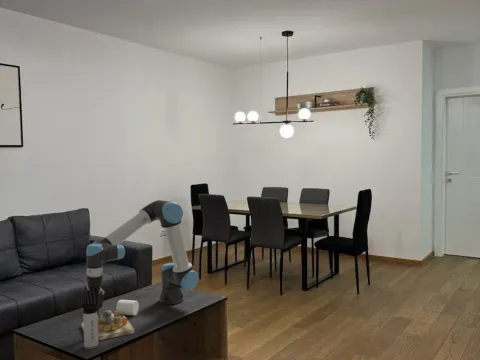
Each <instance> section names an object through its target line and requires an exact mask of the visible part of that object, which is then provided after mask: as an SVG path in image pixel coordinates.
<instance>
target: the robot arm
mask: <svg viewBox="0 0 480 360" xmlns="http://www.w3.org/2000/svg"><path fill="white" fill-rule="evenodd" d="M183 216H184V211H183V207H182V206H181V205H180V204H179V203H177V202H176V201H172V200H169V201H168V200H161V199H159V200H155V201H152V202H150V203H149V204H147V205H146V206H144V207H142V208H141V209H140V210H139V211H138V213H137V214H135V216H133V217H131V218H130V219H129V220H127V221H126V222H125V223H123V224H122V225H121V226H119V227H118V228H116V229H115V230H113V231H112V232H111V233H110V234H108V235H107V236H105V237H104V238H102V239H101V240H95V241H93V242H92V243H91V244H88V245H87V247H86V252H85V253H86V254H85V255H86V275H87V276H86V284H87V286H85V287H84V292H85V296H86V300H87V304H95V305H97V318H98V315H99V313H100V310H99V309H102V307H103V303H104V298H105V294H106V289H105V290H104V289H103V286H102V283H103V281H104V280H103V278H104V277H103V274H104V271H103V267H104V266H103V263H107V262H111V261H118V260H121V259H123V258H124V257H125V256H126V250H125V247H124V245H123V244H121V243H123V242H124V241H125V240H127V239H128V238H130V237H131V236H132V235H134V234H135V233H136V232H138V231H139V230H141V229H142V228H143V227H145V225H150V224H152V222H156V221H159V222H160V227H161V228H162V229H164V231H165V236H166V239H167V242H168V243H167V244H168V246H169V250H170V254H171V255H170V256H171V258H172V262H168V263H165V264H162V265H161V269H160V274H161V275H160V276H161V289H160V293H159V296H158V302H159V303H160V304H163V305H177V304H181V303H183V302H184V300H185V296H184V292H183V290H186V291H191V290H193V289H194V288H195V287H196V285H197V283H198V282H199V273H198V272H197V271H196V270H194V268H193V265H192V263H191V262H189V258H188V255H187V250H186V246H185V242H184V238H183V234H182V230H181V229H182V228H181V226H180V225H181V223H182V219H183Z"/></svg>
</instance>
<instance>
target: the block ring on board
mask: <svg viewBox="0 0 480 360" xmlns="http://www.w3.org/2000/svg"><path fill="white" fill-rule="evenodd" d="M120 316H122V317H123V318H126V315H120ZM113 318H114V314H113V312H112V310H110V309H109V310H108V309H106V310H103V311H102V313H101V315H100V319H101V324H111V323H114V320H113ZM80 325H81V328H82V331H83V332H84V322H81V324H80ZM132 334H135V328H134V327H133V325H132V324H131V322H130V321H129V320H128V319H127V323H126V324H123V325H122V326H121V327H120V328H118V329H115V330H111V331H104V332H102V331H98V341H102V340H107V339H108V340H109V339H112V338H117V337H122V336H126V335H132Z"/></svg>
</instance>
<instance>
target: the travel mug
mask: <svg viewBox="0 0 480 360" xmlns="http://www.w3.org/2000/svg"><path fill="white" fill-rule="evenodd" d="M82 309H83V310H82V314H83V315H82V316H83V317H82V318H83V322H82V323H84V331H83V343H84V344H83V346H84V349H86V350H93V349H95V348H97V347H98V346H99V340H98V318H97V305H95V304H91V303H90V304H88V303H84V304H82Z"/></svg>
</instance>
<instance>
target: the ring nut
mask: <svg viewBox="0 0 480 360" xmlns="http://www.w3.org/2000/svg"><path fill="white" fill-rule="evenodd" d="M112 313H113V314H114V318H113V320H114V323H111V324H101V319H100V315H102V313H101V312H99V315H98V331H102V332H104V331H111V330H115V329H118V328H120V327H121V326H122V325H123V324H126V323H127V320H128V317H125V318H123V317H122V316H120V311H118V310H116V309H115V310H114V311H113V312H112Z"/></svg>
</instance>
